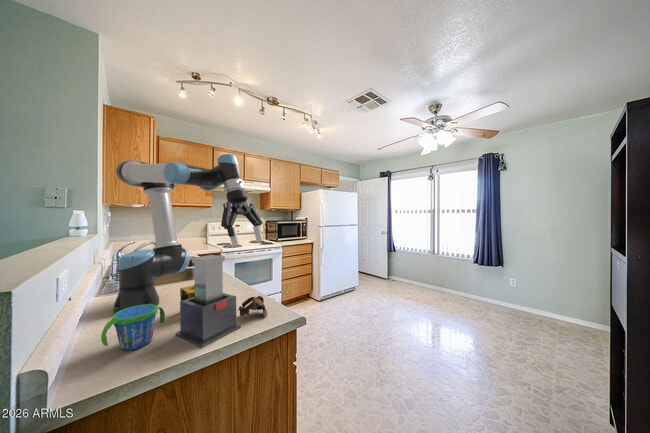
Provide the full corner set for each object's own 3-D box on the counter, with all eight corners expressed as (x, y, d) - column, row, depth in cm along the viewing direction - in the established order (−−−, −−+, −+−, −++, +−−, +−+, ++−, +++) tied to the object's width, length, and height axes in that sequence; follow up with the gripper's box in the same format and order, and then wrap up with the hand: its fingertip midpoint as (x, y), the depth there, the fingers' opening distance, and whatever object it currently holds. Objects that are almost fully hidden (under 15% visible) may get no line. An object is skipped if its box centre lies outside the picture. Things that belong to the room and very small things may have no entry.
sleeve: (175, 335, 75) (175, 301, 75) (214, 318, 87) (214, 289, 87) (201, 348, 68) (201, 310, 68) (240, 327, 80) (240, 295, 80)
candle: (216, 312, 93) (216, 287, 93) (188, 320, 86) (188, 293, 86) (206, 305, 100) (206, 282, 100) (180, 312, 93) (179, 287, 93)
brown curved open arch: (265, 323, 85) (252, 305, 83) (243, 332, 86) (231, 315, 85) (274, 302, 96) (263, 286, 94) (255, 311, 98) (244, 295, 96)
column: (192, 330, 76) (191, 258, 76) (212, 321, 82) (211, 254, 82) (205, 335, 73) (204, 260, 72) (225, 325, 79) (224, 256, 79)
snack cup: (108, 364, 61) (108, 325, 61) (95, 352, 66) (94, 316, 66) (173, 337, 74) (173, 305, 74) (157, 329, 79) (157, 299, 79)
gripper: (216, 184, 81) (231, 243, 78) (262, 191, 104) (275, 237, 101) (202, 192, 83) (215, 249, 81) (249, 197, 106) (261, 242, 104)
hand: (248, 243), depth 91 cm, fingers open, 13 cm apart
